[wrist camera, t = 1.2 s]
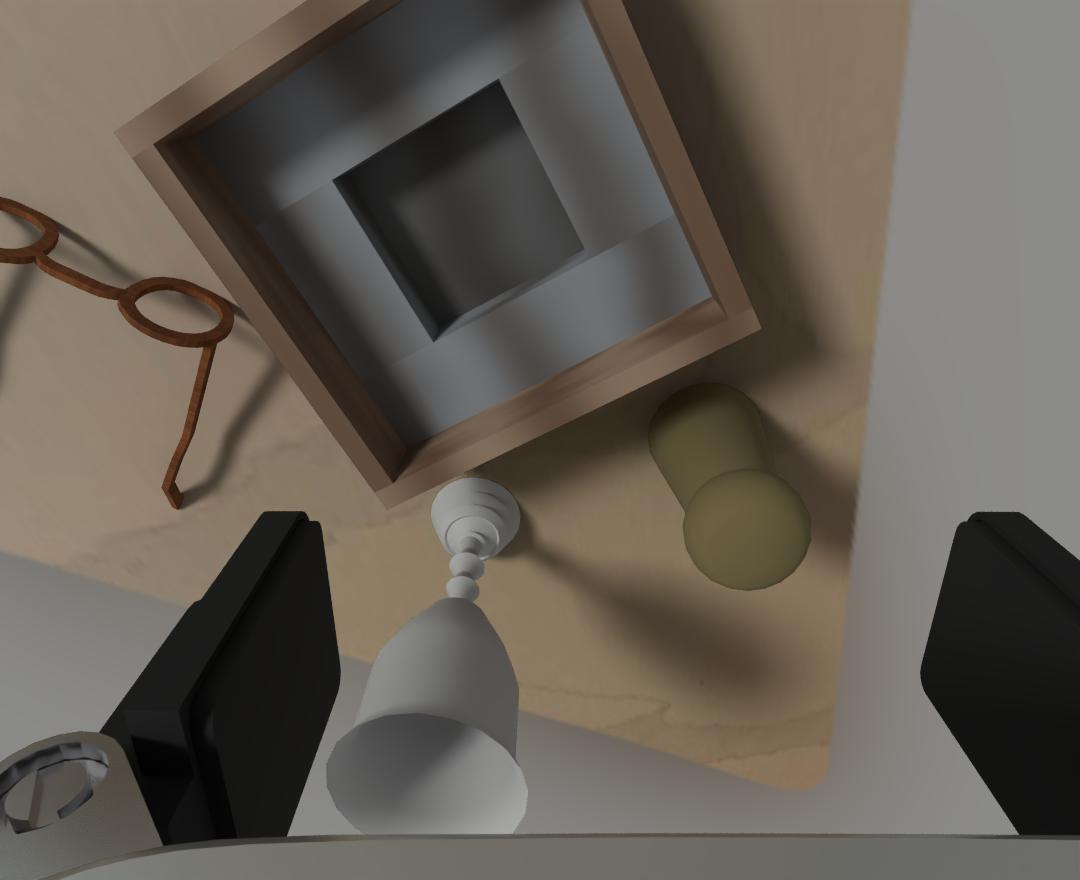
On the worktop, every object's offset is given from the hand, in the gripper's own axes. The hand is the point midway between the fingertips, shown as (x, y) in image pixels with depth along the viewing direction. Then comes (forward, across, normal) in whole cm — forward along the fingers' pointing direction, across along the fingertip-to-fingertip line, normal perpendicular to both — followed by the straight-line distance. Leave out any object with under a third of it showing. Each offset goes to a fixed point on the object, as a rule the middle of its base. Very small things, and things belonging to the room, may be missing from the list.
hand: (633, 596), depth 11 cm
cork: (+27, -7, +9) cm, 30 cm away
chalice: (+28, +5, +14) cm, 32 cm away
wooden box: (+27, +5, -3) cm, 28 cm away
